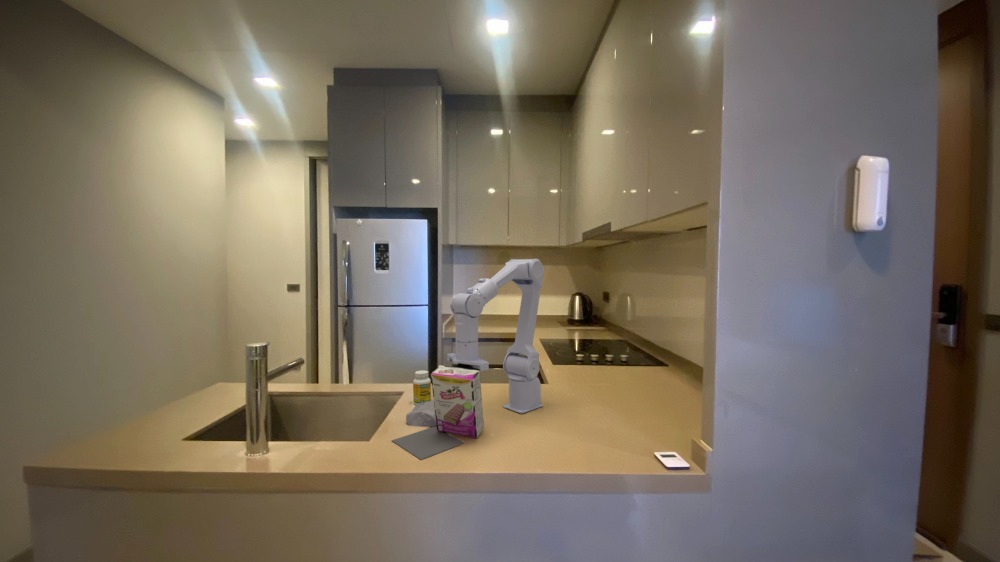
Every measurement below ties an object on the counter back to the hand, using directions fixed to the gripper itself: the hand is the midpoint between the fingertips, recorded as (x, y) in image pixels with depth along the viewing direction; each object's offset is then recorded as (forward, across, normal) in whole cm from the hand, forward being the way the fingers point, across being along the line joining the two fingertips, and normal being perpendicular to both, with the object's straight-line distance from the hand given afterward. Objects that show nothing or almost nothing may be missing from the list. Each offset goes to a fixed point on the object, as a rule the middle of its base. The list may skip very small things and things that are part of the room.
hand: (467, 393), depth 101 cm
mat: (+10, -1, -11) cm, 15 cm away
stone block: (+10, -14, -3) cm, 18 cm away
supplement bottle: (+10, -26, +3) cm, 28 cm away
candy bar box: (+9, 0, -2) cm, 9 cm away
